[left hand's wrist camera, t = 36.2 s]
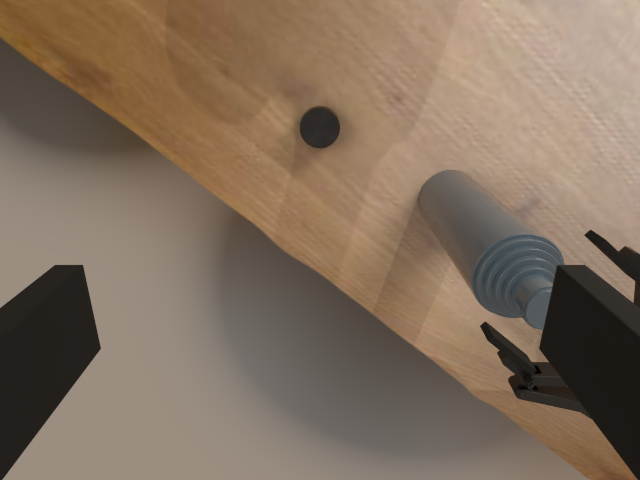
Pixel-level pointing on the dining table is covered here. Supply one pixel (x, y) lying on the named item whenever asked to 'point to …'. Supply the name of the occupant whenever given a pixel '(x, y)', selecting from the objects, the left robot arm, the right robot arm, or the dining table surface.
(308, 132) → the cap
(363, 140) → the dining table surface
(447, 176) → the bottle
